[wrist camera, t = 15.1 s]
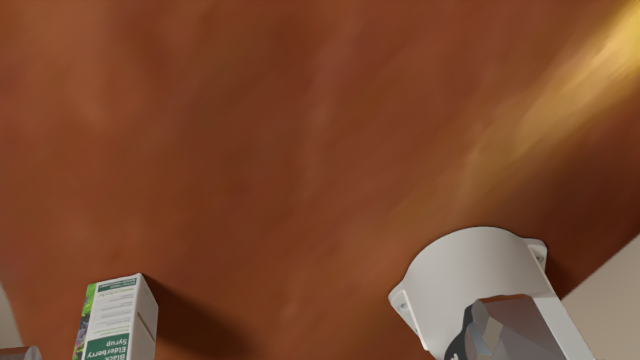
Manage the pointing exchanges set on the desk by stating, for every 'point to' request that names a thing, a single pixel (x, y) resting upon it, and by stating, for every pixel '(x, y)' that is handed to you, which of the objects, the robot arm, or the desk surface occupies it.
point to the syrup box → (118, 321)
